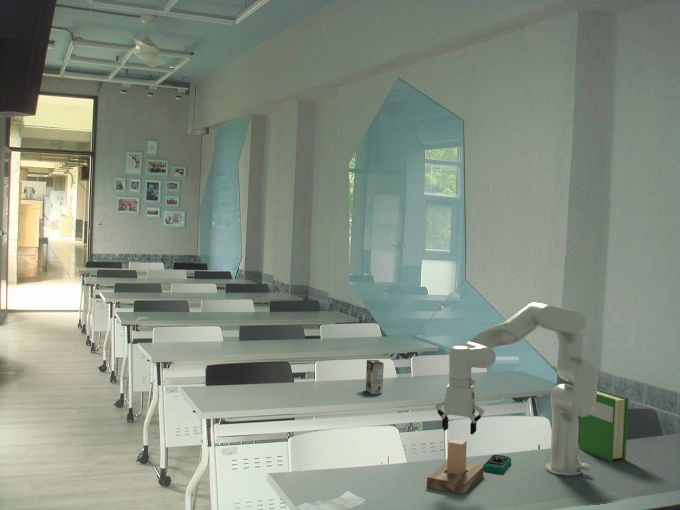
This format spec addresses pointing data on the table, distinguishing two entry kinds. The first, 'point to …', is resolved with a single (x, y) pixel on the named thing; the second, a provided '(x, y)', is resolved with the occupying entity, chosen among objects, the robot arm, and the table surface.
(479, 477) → the wooden peg hole block
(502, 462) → the digital multimeter
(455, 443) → the square peg
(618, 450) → the hardback book
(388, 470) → the table surface
